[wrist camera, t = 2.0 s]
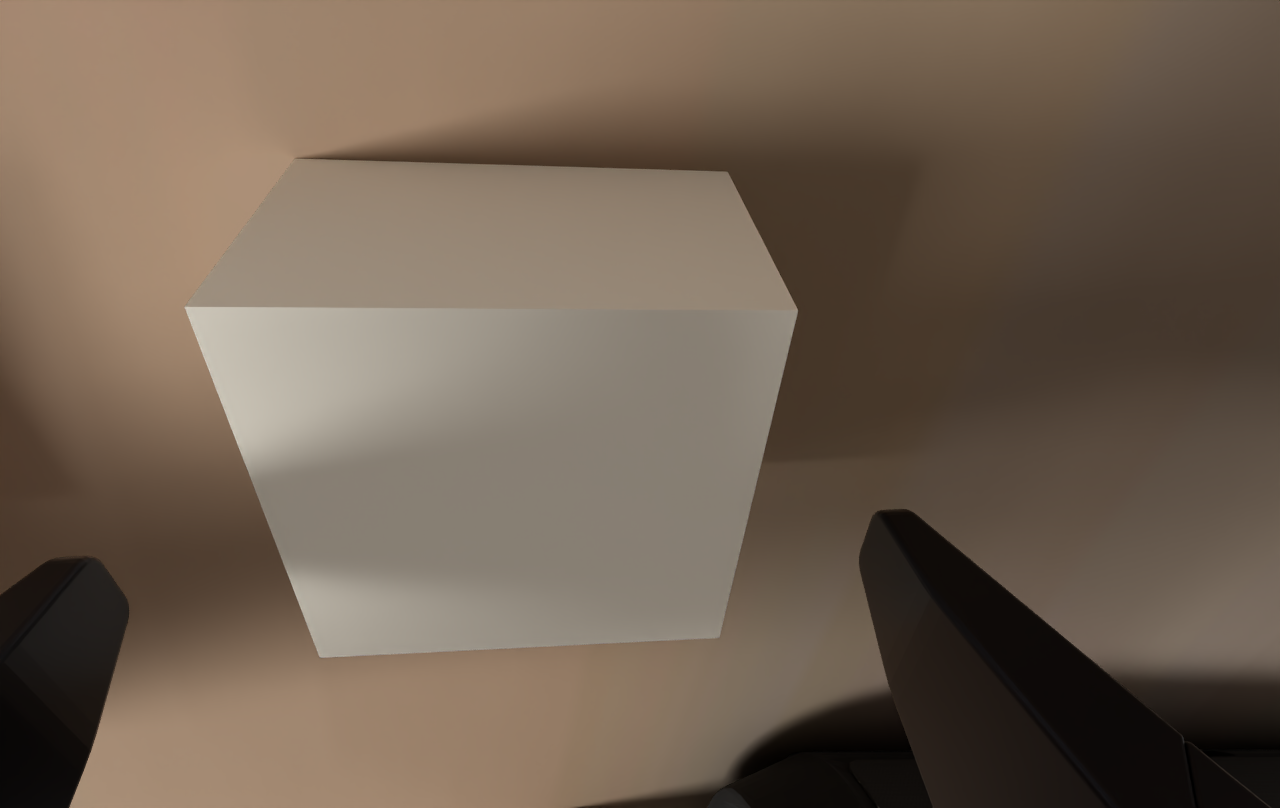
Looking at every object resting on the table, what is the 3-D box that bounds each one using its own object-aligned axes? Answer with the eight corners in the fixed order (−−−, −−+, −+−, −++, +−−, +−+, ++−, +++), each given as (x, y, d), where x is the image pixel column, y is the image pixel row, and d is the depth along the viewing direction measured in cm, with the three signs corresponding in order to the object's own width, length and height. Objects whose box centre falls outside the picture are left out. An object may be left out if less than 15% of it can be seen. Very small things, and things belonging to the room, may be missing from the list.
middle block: (371, 467, 14) (320, 658, 11) (298, 153, 10) (184, 307, 7) (682, 461, 14) (719, 637, 11) (725, 166, 11) (797, 310, 7)
